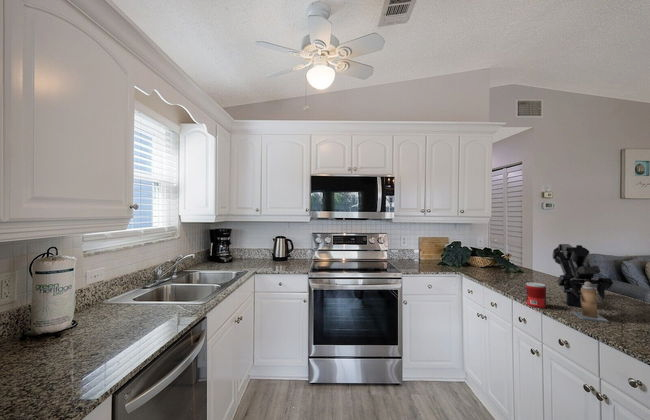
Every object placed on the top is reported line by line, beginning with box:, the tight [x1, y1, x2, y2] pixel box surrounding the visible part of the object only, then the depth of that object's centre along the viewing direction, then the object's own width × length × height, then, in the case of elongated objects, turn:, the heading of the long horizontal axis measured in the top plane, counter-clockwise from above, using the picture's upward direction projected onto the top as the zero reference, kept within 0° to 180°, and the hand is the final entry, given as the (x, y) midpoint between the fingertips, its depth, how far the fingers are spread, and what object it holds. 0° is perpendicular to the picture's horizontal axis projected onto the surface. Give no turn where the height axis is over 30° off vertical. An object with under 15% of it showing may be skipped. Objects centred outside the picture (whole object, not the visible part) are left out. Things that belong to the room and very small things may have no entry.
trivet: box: [572, 310, 609, 323], centre depth 126 cm, size 9×9×1 cm
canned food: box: [525, 281, 547, 309], centre depth 143 cm, size 8×8×11 cm
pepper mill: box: [581, 282, 598, 318], centre depth 126 cm, size 5×5×15 cm
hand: (591, 298), depth 125 cm, fingers open, 8 cm apart
